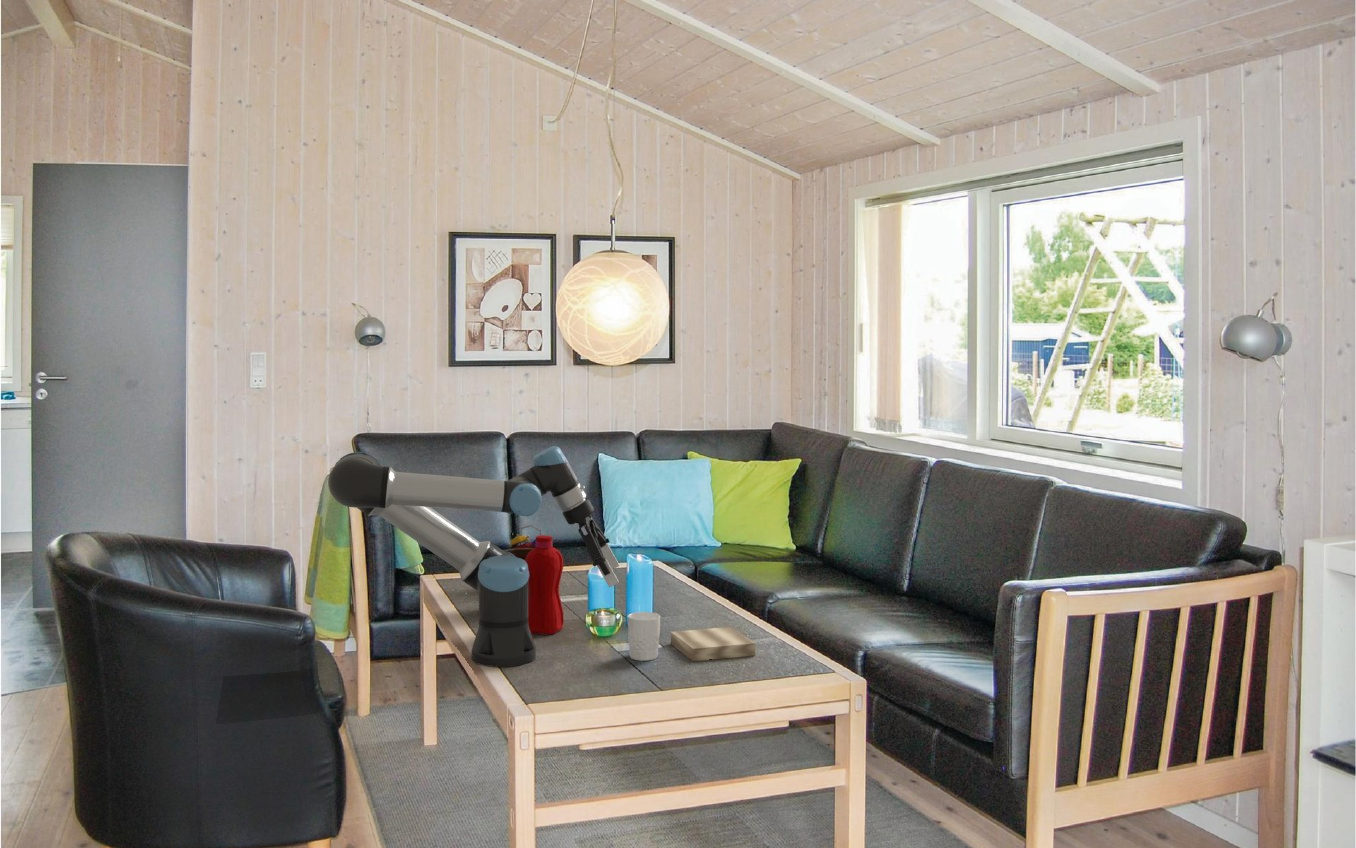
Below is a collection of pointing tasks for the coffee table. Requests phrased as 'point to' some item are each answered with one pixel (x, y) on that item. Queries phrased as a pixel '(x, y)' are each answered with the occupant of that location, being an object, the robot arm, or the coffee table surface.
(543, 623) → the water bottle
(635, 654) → the white cup
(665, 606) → the coffee table surface
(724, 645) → the wooden base
